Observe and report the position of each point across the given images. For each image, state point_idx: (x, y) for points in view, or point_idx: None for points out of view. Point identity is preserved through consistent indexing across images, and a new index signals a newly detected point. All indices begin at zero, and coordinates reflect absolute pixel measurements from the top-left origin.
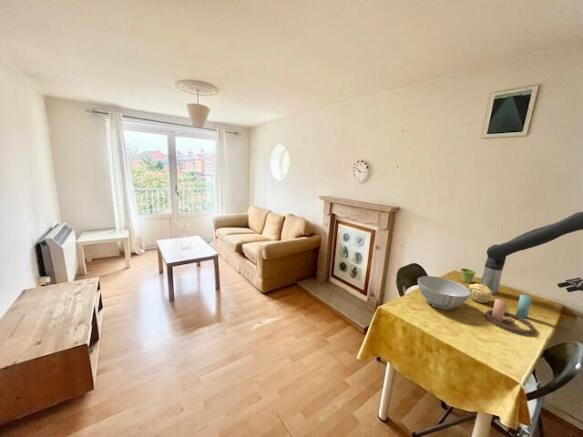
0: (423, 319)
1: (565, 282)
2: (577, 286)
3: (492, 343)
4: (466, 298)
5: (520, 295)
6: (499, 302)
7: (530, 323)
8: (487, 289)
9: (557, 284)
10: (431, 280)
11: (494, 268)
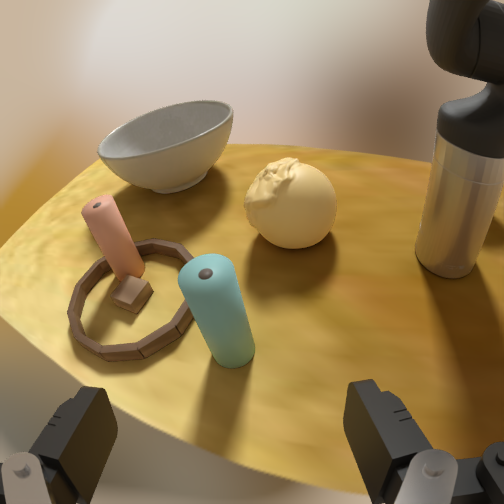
0: (92, 180)
1: (387, 449)
2: (14, 457)
3: (33, 260)
4: (112, 165)
5: (209, 254)
6: (87, 204)
7: (130, 348)
8: (265, 187)
9: (359, 383)
10: (224, 115)
11: (441, 127)
